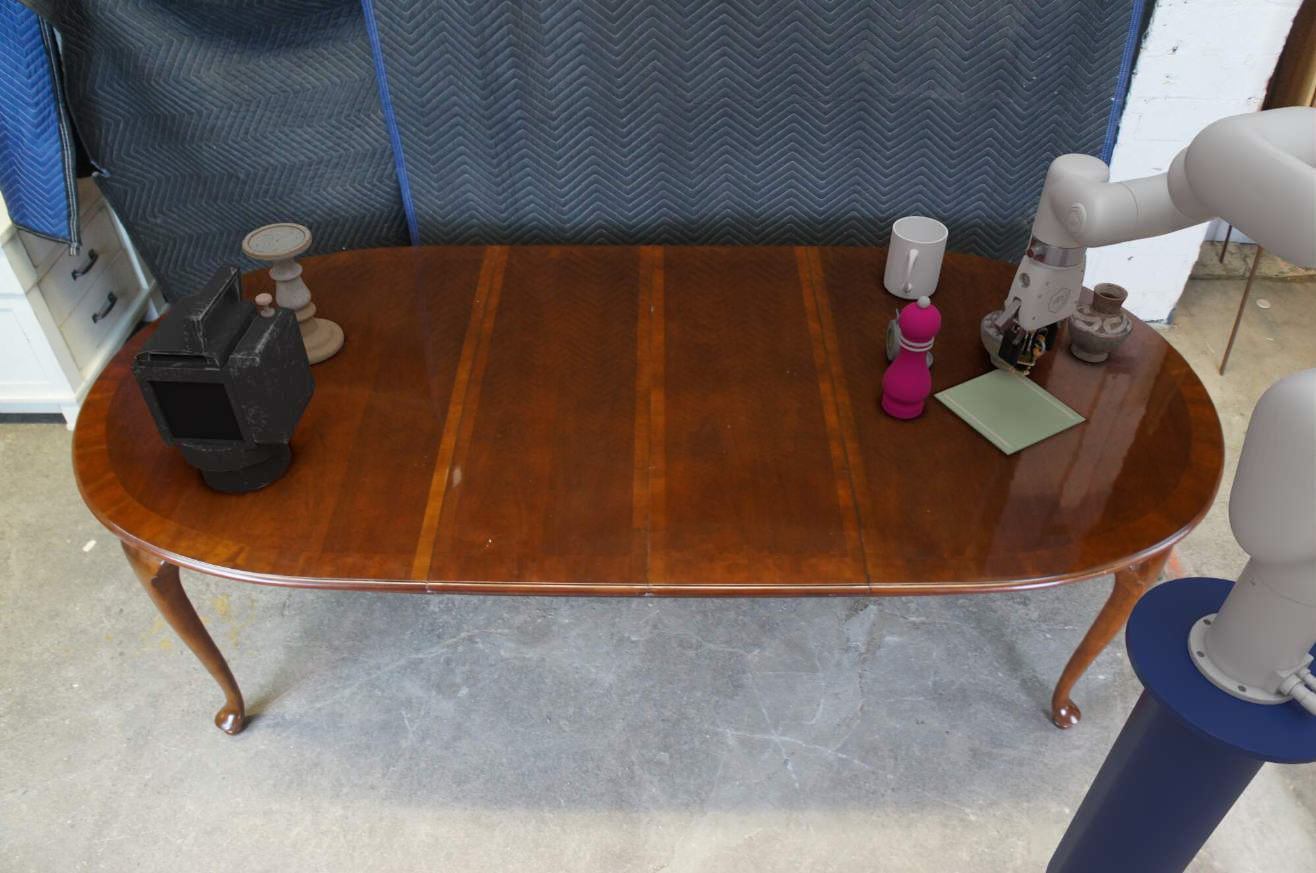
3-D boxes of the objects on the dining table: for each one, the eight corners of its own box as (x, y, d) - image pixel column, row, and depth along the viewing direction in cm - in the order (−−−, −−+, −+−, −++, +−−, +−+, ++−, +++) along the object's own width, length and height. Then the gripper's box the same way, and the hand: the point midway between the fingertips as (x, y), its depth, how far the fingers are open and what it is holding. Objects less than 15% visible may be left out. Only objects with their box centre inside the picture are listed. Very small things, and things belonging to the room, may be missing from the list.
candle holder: (353, 324, 169) (327, 219, 156) (333, 367, 160) (304, 259, 147) (282, 324, 170) (250, 218, 156) (258, 366, 160) (222, 258, 147)
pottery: (1134, 369, 160) (1159, 306, 152) (991, 385, 156) (1009, 321, 148) (1097, 331, 168) (1119, 269, 161) (961, 345, 164) (976, 283, 157)
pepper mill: (874, 415, 151) (895, 305, 138) (882, 388, 156) (902, 279, 143) (922, 425, 149) (948, 315, 136) (928, 397, 154) (953, 288, 141)
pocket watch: (940, 365, 161) (952, 314, 154) (901, 382, 157) (912, 330, 151) (905, 341, 166) (915, 290, 159) (867, 356, 162) (876, 305, 156)
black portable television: (217, 428, 149) (150, 253, 129) (333, 432, 148) (284, 258, 128) (174, 497, 137) (94, 318, 118) (299, 503, 137) (240, 323, 117)
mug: (932, 274, 182) (944, 217, 174) (940, 310, 173) (953, 252, 165) (881, 272, 182) (890, 215, 175) (885, 307, 173) (896, 249, 166)
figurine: (998, 373, 146) (1016, 329, 141) (1001, 355, 150) (1019, 312, 144) (1030, 382, 145) (1049, 338, 140) (1033, 364, 149) (1052, 321, 143)
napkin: (1085, 420, 150) (1085, 419, 150) (1007, 455, 144) (1008, 453, 144) (1008, 366, 160) (1009, 364, 160) (933, 396, 154) (934, 394, 154)
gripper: (1031, 276, 128) (999, 385, 140) (1123, 243, 134) (1085, 349, 146) (989, 250, 133) (962, 357, 145) (1080, 219, 139) (1047, 324, 151)
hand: (1025, 352), depth 145 cm, fingers closed on figurine, 6 cm apart
